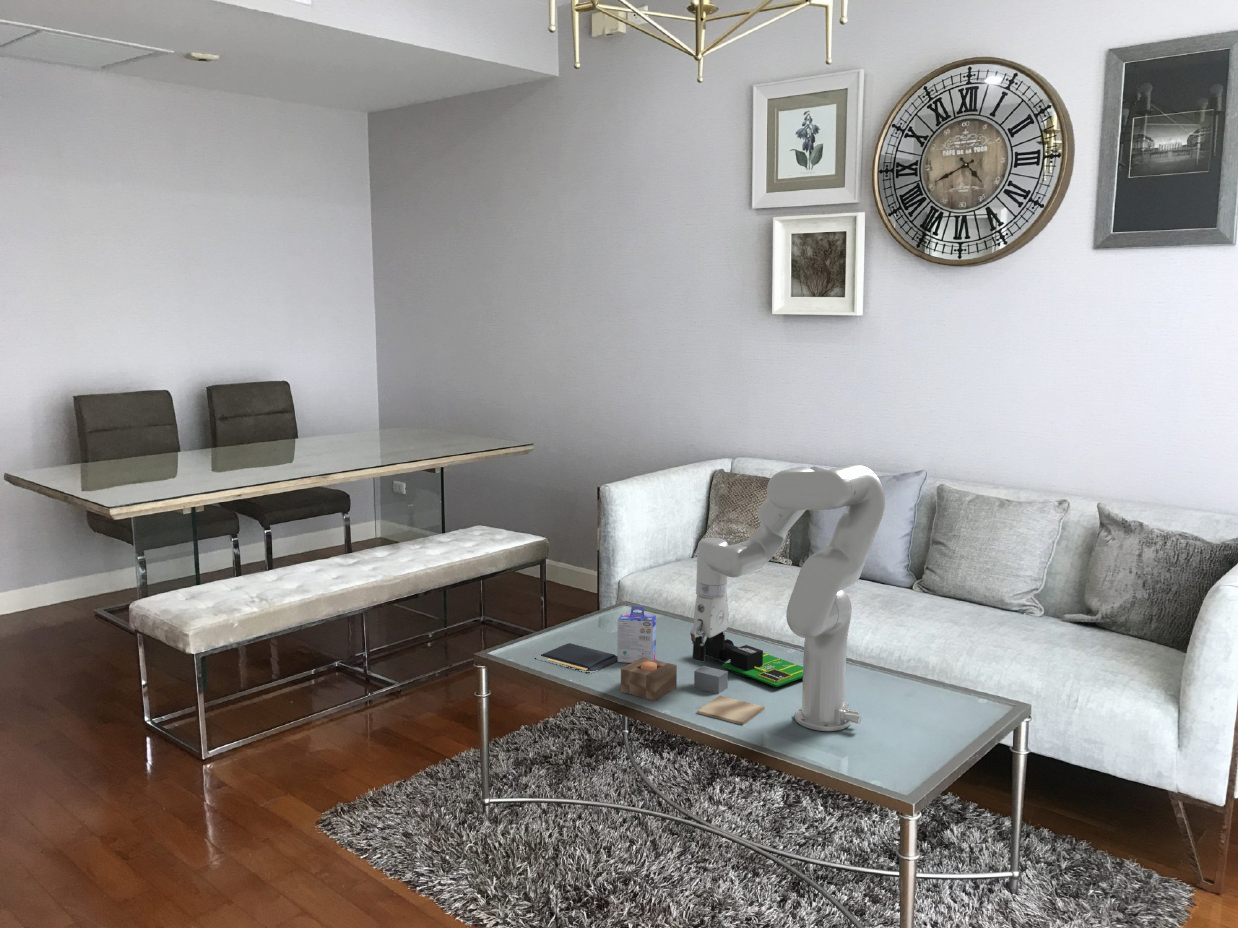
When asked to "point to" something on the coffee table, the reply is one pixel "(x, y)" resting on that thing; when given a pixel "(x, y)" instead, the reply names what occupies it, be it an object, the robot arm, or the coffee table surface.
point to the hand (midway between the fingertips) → (708, 654)
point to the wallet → (580, 657)
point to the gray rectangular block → (711, 679)
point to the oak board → (731, 710)
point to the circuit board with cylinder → (754, 663)
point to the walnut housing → (649, 679)
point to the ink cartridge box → (636, 636)
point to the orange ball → (648, 666)
